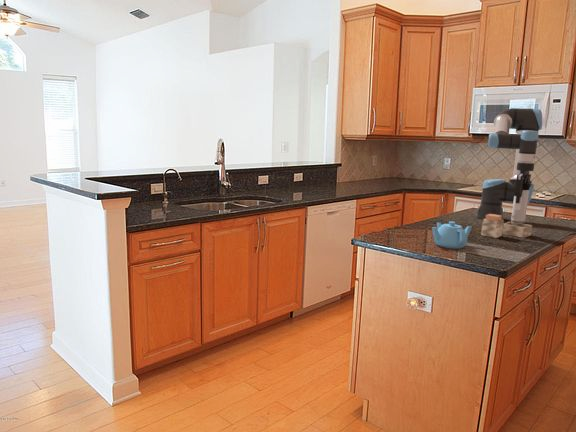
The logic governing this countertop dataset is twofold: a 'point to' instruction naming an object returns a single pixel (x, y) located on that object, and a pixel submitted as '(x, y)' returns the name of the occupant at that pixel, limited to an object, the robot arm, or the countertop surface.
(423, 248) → the countertop surface
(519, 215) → the travel mug
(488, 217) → the orange square panel
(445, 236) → the teapot
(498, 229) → the dock
